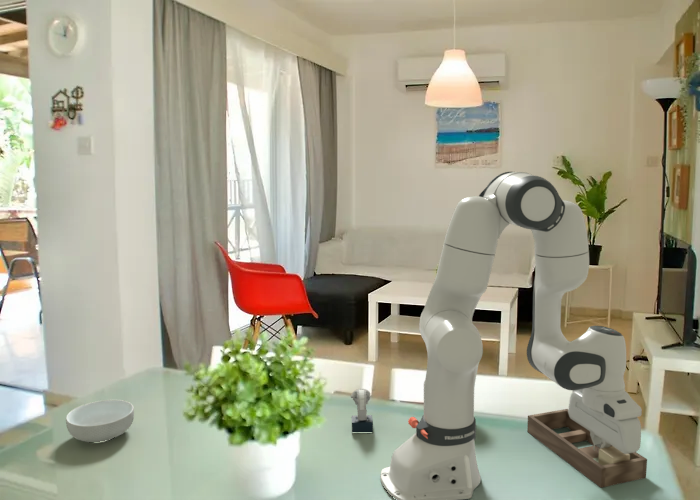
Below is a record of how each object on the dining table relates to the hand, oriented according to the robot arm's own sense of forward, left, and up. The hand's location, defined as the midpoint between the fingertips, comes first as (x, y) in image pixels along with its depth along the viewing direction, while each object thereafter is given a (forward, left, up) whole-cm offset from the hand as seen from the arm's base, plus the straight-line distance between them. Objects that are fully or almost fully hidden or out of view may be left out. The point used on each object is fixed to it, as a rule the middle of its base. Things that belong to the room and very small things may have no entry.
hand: (600, 453), depth 141 cm
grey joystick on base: (-46, +36, -3) cm, 59 cm away
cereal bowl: (-112, +56, -3) cm, 125 cm away
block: (0, -4, -1) cm, 4 cm away
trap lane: (0, +6, -3) cm, 7 cm away
